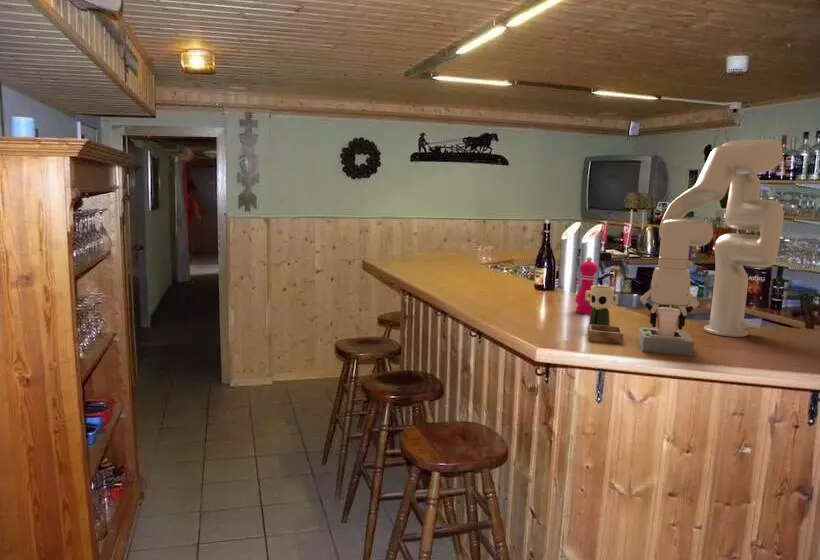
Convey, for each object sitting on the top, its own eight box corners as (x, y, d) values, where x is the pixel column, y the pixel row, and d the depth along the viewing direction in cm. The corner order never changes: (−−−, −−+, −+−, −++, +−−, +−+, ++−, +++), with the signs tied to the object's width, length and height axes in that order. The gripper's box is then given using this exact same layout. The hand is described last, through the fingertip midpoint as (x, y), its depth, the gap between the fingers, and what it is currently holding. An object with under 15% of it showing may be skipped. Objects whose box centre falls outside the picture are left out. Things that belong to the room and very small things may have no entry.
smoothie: (666, 346, 174) (671, 297, 172) (647, 341, 180) (652, 292, 178) (682, 344, 177) (687, 295, 175) (663, 339, 183) (668, 291, 181)
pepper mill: (573, 313, 224) (577, 257, 221) (576, 309, 231) (580, 255, 228) (594, 315, 222) (599, 258, 219) (596, 311, 228) (601, 256, 225)
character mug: (578, 325, 204) (581, 286, 202) (587, 322, 209) (590, 283, 207) (611, 331, 197) (614, 290, 195) (619, 328, 202) (623, 288, 200)
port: (684, 344, 184) (686, 329, 183) (692, 356, 171) (694, 339, 170) (637, 340, 187) (639, 325, 186) (642, 351, 174) (643, 335, 174)
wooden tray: (620, 336, 191) (620, 326, 191) (622, 343, 182) (623, 333, 182) (587, 333, 193) (588, 323, 193) (588, 340, 184) (589, 330, 184)
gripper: (703, 264, 177) (697, 327, 180) (638, 260, 181) (633, 322, 184) (709, 268, 170) (702, 333, 172) (641, 263, 174) (635, 327, 177)
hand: (666, 326), depth 178 cm, fingers closed on smoothie, 6 cm apart
